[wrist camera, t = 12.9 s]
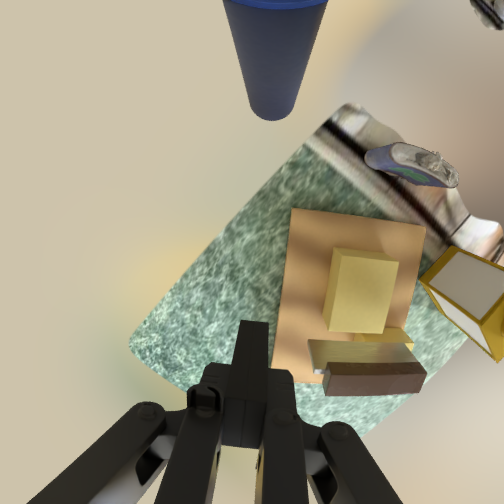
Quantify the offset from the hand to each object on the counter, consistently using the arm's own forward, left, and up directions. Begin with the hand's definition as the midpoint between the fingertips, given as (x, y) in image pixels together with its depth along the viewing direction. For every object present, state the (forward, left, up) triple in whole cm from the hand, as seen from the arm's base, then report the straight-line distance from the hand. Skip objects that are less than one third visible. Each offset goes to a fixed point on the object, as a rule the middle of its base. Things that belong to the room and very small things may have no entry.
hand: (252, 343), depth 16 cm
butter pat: (+10, +17, -21) cm, 29 cm away
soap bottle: (-1, +29, -23) cm, 37 cm away
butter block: (+3, +12, -21) cm, 24 cm away
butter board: (+6, +12, -22) cm, 26 cm away
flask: (-13, +16, -23) cm, 31 cm away
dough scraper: (+8, +12, -15) cm, 21 cm away
